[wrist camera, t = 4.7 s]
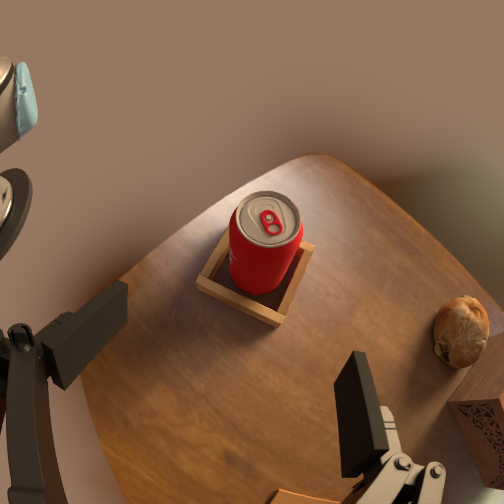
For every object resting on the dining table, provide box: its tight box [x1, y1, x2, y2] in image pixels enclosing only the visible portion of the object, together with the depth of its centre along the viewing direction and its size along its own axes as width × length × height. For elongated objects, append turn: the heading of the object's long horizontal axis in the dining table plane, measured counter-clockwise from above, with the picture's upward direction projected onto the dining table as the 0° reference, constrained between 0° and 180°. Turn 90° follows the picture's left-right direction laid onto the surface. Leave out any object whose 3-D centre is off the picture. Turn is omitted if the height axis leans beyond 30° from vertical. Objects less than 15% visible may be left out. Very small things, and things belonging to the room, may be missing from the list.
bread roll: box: [434, 295, 489, 369], centre depth 28 cm, size 10×10×8 cm
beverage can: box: [229, 191, 303, 295], centre depth 27 cm, size 6×6×12 cm
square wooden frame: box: [195, 226, 315, 328], centre depth 31 cm, size 10×10×2 cm
